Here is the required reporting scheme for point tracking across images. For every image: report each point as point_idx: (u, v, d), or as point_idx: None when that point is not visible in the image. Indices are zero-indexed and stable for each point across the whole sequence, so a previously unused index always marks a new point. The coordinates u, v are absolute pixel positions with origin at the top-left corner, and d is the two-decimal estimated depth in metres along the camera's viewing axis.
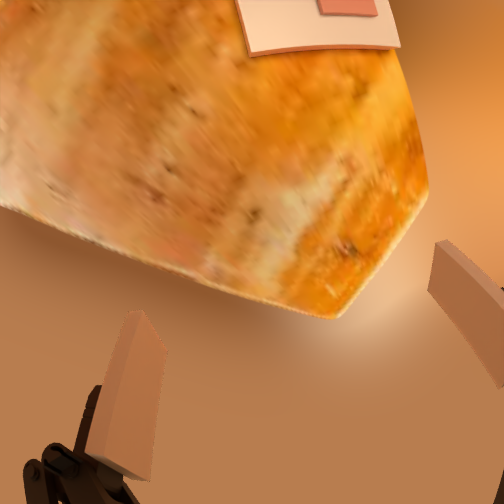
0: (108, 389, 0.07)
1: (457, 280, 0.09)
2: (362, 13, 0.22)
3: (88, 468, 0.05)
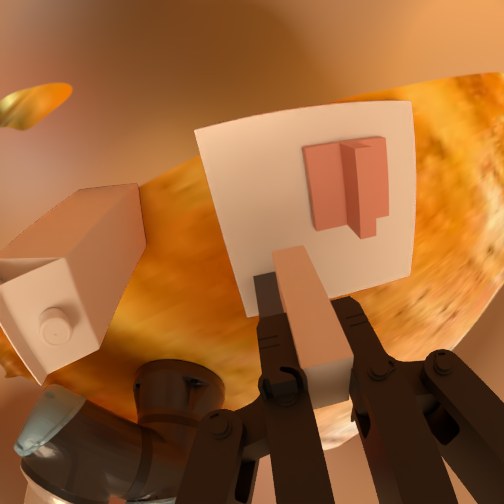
0: (296, 309, 0.09)
1: None
2: (387, 162, 0.22)
3: (310, 400, 0.06)
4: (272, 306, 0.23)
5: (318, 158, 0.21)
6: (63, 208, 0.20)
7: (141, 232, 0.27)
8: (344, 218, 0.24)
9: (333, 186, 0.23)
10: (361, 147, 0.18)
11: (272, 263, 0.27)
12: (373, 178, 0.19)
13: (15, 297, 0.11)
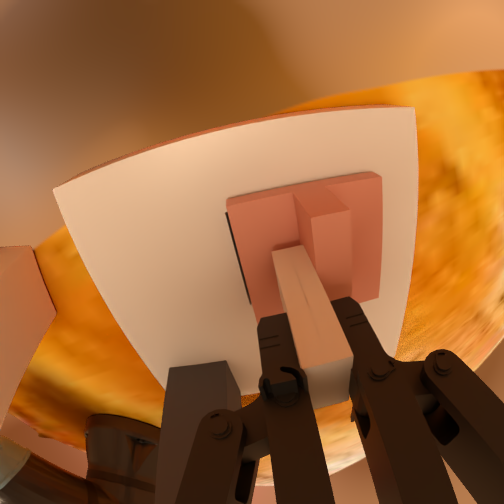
0: (296, 308, 0.09)
1: None
2: (381, 219, 0.13)
3: (310, 400, 0.06)
4: (177, 424, 0.15)
5: (253, 222, 0.13)
6: None
7: (44, 302, 0.18)
8: None
9: None
10: (326, 212, 0.10)
11: (190, 356, 0.19)
12: (349, 268, 0.11)
13: None
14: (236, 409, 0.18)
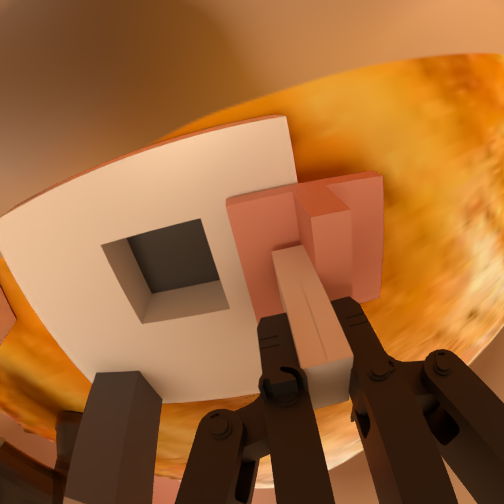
0: (296, 309, 0.09)
1: None
2: (382, 218, 0.13)
3: (310, 400, 0.06)
4: (92, 422, 0.15)
5: (253, 222, 0.13)
6: None
7: (4, 310, 0.19)
8: None
9: None
10: (327, 211, 0.10)
11: (109, 364, 0.19)
12: (350, 268, 0.11)
13: None
14: (148, 416, 0.18)
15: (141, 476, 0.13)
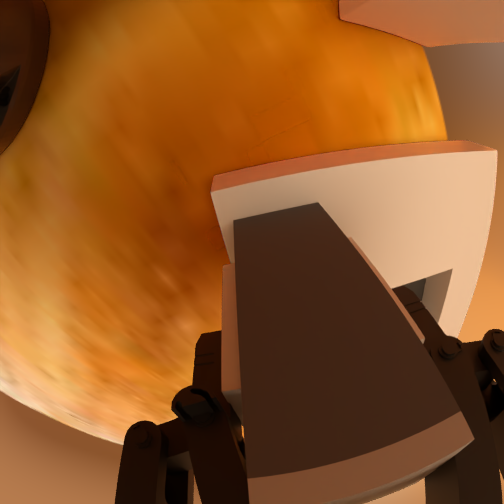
0: (231, 328, 0.09)
1: None
2: None
3: (227, 418, 0.06)
4: None
5: None
6: None
7: (376, 24, 0.11)
8: None
9: None
10: None
11: None
12: None
13: None
14: None
15: None
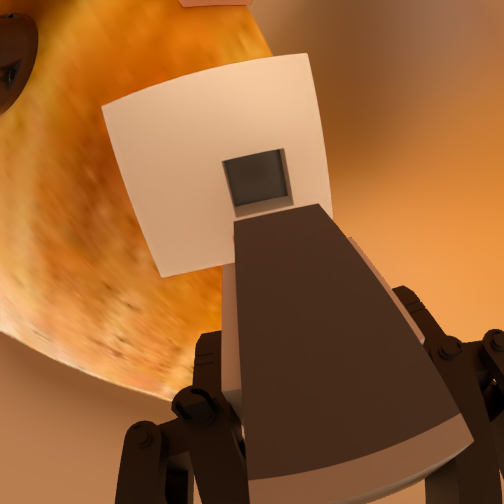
0: (231, 328, 0.09)
1: None
2: None
3: (227, 418, 0.06)
4: None
5: None
6: None
7: (201, 2, 0.19)
8: None
9: None
10: None
11: (168, 121, 0.23)
12: None
13: None
14: None
15: None
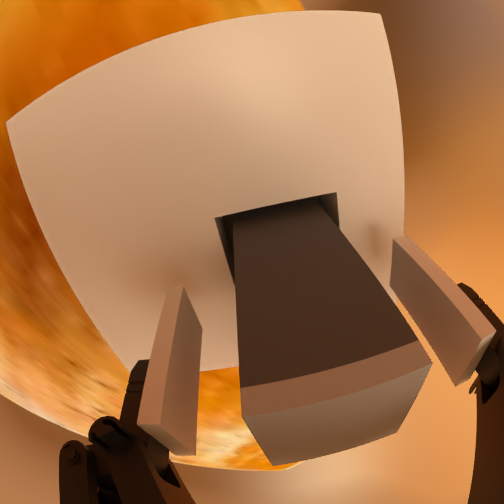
0: (158, 359, 0.08)
1: (412, 275, 0.10)
2: None
3: (141, 445, 0.06)
4: None
5: None
6: None
7: None
8: None
9: None
10: None
11: (108, 139, 0.11)
12: None
13: None
14: None
15: None
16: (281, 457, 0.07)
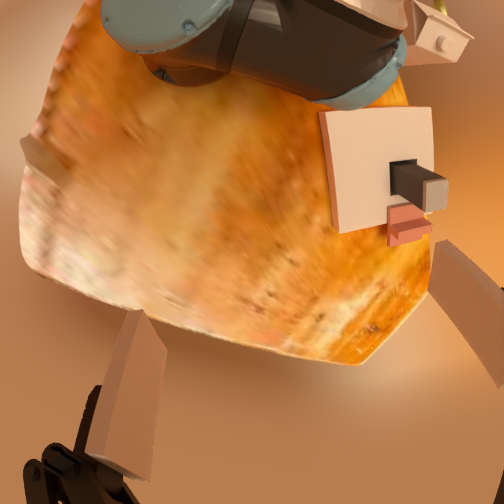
0: (108, 389, 0.07)
1: (457, 280, 0.09)
2: None
3: (88, 468, 0.05)
4: None
5: None
6: None
7: None
8: (393, 222, 0.44)
9: (408, 215, 0.43)
10: None
11: (366, 133, 0.37)
12: (421, 234, 0.42)
13: (461, 40, 0.18)
14: None
15: None
16: (427, 205, 0.33)
